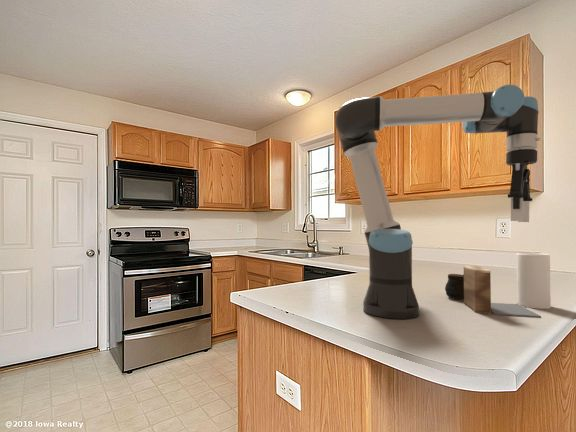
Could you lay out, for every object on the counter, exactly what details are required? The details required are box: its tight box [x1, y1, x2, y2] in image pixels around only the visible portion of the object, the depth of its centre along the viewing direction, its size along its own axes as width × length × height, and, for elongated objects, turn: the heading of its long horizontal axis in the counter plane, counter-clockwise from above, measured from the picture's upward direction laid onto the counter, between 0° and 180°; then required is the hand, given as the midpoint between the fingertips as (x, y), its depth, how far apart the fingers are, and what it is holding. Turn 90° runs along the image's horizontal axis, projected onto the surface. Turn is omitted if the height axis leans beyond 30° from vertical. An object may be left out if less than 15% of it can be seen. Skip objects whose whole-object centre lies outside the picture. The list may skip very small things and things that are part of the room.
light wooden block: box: [463, 265, 492, 314], centre depth 95 cm, size 4×10×12 cm, turn 167°
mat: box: [491, 302, 542, 318], centre depth 93 cm, size 11×13×1 cm
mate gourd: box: [444, 273, 464, 301], centre depth 107 cm, size 7×8×10 cm
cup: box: [516, 252, 552, 310], centre depth 98 cm, size 8×8×16 cm
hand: (520, 221), depth 95 cm, fingers open, 13 cm apart
